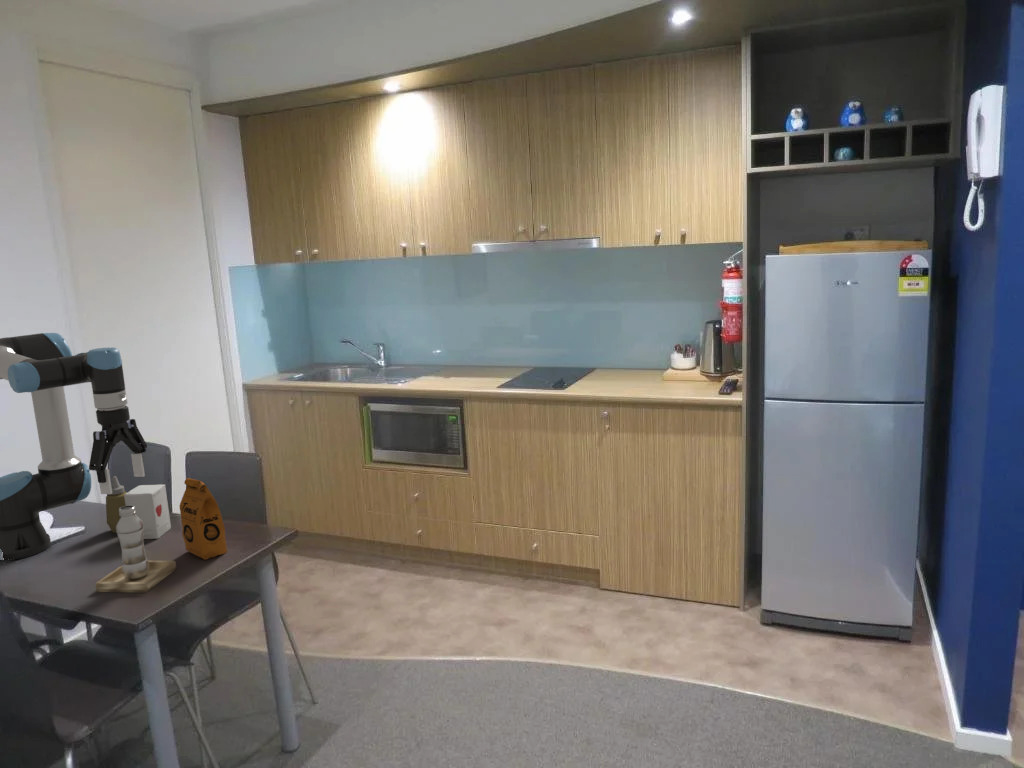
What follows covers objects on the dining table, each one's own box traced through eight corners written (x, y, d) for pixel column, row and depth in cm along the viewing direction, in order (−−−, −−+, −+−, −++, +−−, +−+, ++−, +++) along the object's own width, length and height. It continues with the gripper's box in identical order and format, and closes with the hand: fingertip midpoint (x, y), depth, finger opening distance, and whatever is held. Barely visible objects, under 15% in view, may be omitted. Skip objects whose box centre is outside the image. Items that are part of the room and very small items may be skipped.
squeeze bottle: (110, 527, 236) (102, 475, 233) (138, 523, 239) (130, 471, 236) (106, 536, 229) (97, 482, 225) (134, 532, 232) (126, 478, 228)
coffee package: (198, 563, 206) (188, 490, 202) (181, 552, 215) (171, 481, 210) (232, 552, 213) (223, 480, 209) (214, 541, 222) (205, 472, 217)
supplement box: (158, 539, 225) (151, 493, 222) (129, 540, 225) (122, 494, 222) (172, 527, 234) (166, 483, 231) (145, 528, 234) (138, 484, 231)
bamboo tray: (96, 591, 192) (95, 583, 191) (130, 568, 205) (128, 560, 205) (145, 592, 190) (144, 584, 189) (176, 568, 203) (175, 560, 203)
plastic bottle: (124, 574, 199) (113, 505, 195) (151, 569, 202) (141, 501, 198) (121, 584, 193) (110, 513, 189) (150, 579, 196) (139, 509, 192)
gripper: (92, 419, 177) (105, 501, 181) (154, 396, 201) (164, 469, 205) (64, 419, 178) (77, 501, 182) (129, 396, 202) (139, 469, 206)
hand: (123, 484), depth 194 cm, fingers open, 13 cm apart
